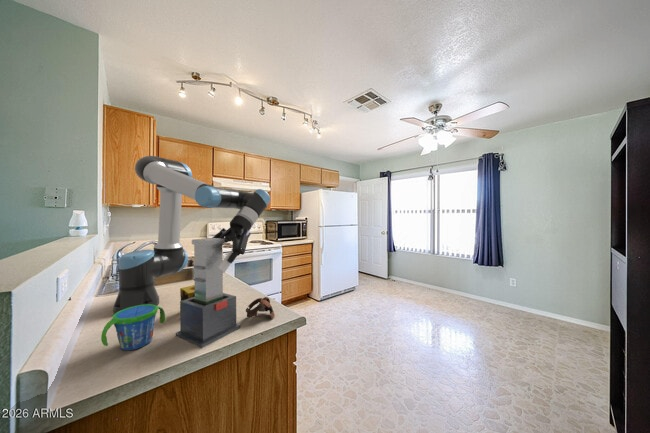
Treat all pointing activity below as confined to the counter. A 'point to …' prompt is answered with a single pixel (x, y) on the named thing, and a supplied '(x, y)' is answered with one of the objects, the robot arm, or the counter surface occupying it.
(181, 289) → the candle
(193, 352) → the counter surface
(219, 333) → the sleeve
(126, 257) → the robot arm
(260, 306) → the brown curved open arch
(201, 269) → the column
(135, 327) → the snack cup
